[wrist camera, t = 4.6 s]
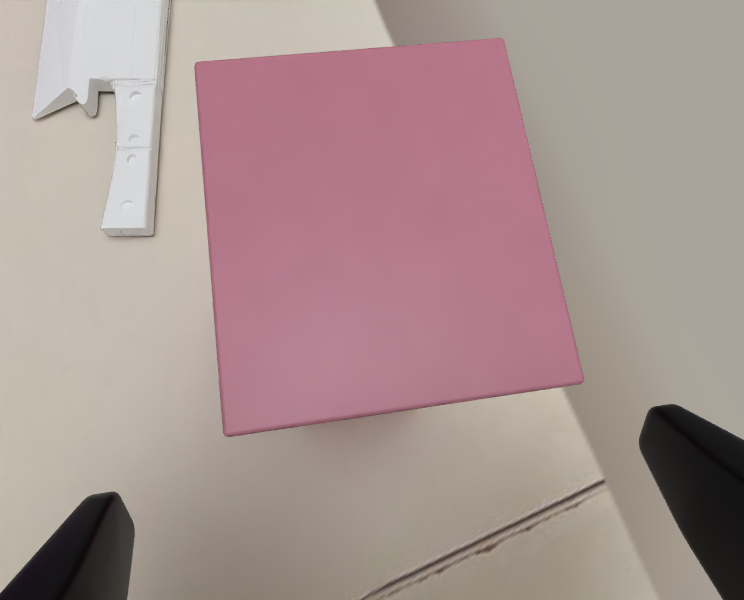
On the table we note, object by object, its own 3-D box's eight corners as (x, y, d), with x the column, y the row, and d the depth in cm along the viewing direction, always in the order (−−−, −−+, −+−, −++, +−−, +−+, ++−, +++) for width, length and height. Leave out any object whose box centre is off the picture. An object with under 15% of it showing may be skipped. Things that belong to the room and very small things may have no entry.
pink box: (419, 406, 19) (587, 383, 6) (301, 424, 18) (222, 438, 6) (398, 278, 20) (505, 35, 7) (286, 292, 19) (192, 60, 7)
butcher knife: (17, 237, 19) (-3, 226, 18) (62, -78, 23) (48, -103, 22) (153, 236, 19) (142, 225, 18) (177, -75, 23) (169, -99, 22)
